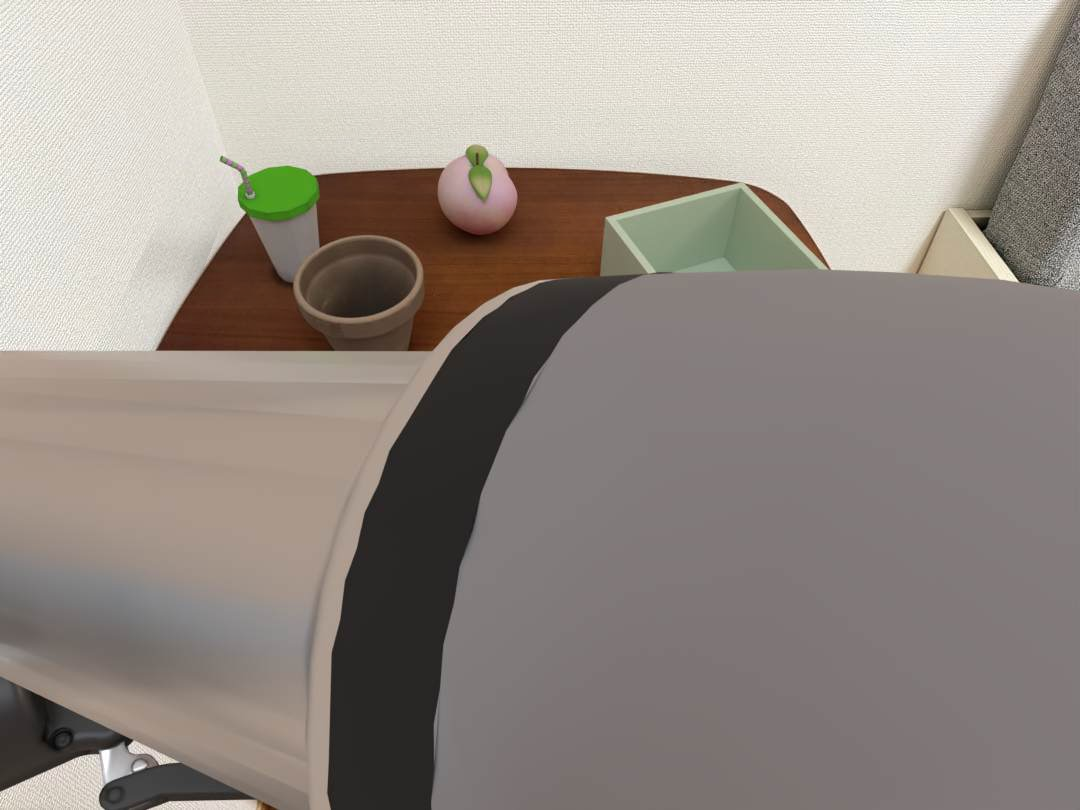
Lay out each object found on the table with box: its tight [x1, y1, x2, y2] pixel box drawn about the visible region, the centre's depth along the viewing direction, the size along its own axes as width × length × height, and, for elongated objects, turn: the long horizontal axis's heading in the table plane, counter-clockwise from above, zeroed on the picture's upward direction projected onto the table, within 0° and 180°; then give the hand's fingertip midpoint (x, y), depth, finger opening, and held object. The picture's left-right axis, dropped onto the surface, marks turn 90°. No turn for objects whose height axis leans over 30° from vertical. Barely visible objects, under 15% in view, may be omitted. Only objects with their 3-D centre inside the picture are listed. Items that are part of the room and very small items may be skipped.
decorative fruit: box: [437, 144, 518, 236], centre depth 89 cm, size 9×8×10 cm
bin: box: [599, 181, 830, 276], centre depth 80 cm, size 16×16×10 cm
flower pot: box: [292, 234, 426, 351], centre depth 76 cm, size 12×11×10 cm
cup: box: [219, 155, 321, 284], centre depth 82 cm, size 8×8×15 cm
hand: (407, 532), depth 43 cm, fingers open, 13 cm apart
